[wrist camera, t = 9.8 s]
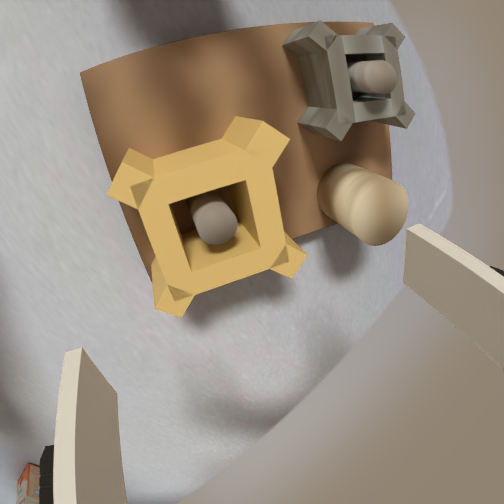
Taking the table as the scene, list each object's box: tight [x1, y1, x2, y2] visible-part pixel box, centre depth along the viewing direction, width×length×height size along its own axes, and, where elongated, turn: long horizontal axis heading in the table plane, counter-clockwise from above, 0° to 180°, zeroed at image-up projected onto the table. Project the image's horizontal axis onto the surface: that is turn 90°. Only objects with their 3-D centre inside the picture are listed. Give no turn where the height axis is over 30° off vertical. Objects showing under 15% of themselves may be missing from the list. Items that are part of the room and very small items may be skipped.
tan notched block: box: [107, 116, 308, 318], centre depth 21 cm, size 11×11×6 cm
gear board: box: [80, 20, 415, 282], centre depth 22 cm, size 24×18×8 cm
